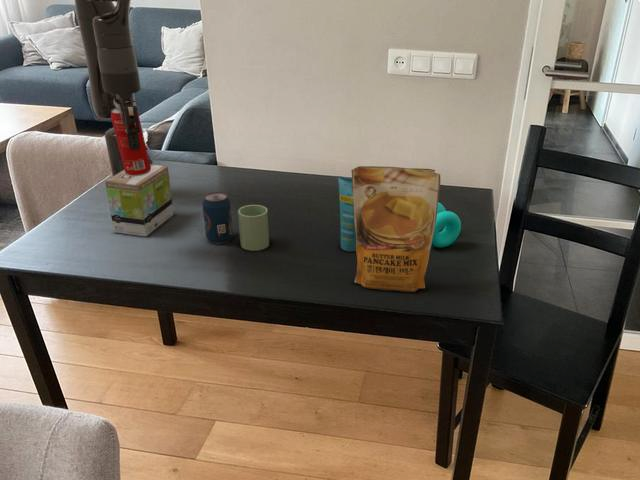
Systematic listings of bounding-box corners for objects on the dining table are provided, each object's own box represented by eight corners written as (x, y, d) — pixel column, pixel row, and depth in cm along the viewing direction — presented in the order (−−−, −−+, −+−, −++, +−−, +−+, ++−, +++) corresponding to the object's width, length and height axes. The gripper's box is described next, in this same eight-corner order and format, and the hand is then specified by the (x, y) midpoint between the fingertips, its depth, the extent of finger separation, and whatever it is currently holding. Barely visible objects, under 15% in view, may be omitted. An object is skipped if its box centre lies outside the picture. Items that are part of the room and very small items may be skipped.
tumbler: (236, 241, 153) (233, 207, 148) (263, 235, 156) (260, 202, 151) (246, 253, 147) (244, 218, 143) (273, 247, 151) (272, 213, 146)
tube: (333, 249, 151) (334, 178, 141) (340, 241, 155) (340, 172, 145) (361, 254, 149) (363, 183, 139) (366, 245, 153) (369, 176, 143)
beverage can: (156, 171, 137) (146, 107, 129) (133, 179, 132) (121, 113, 125) (139, 166, 140) (129, 102, 132) (116, 174, 135) (103, 108, 127)
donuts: (428, 252, 151) (431, 217, 145) (409, 236, 158) (411, 202, 153) (460, 245, 154) (465, 211, 149) (440, 230, 162) (444, 196, 157)
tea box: (148, 237, 153) (139, 184, 146) (113, 233, 155) (102, 180, 147) (175, 214, 166) (168, 164, 158) (142, 210, 167) (134, 161, 160)
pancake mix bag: (350, 273, 140) (353, 161, 126) (430, 279, 139) (442, 166, 125) (347, 287, 134) (349, 171, 120) (430, 294, 133) (442, 178, 119)
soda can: (204, 235, 155) (199, 193, 149) (230, 231, 158) (226, 189, 152) (209, 246, 150) (204, 203, 144) (236, 242, 152) (232, 199, 146)
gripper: (144, 73, 120) (156, 153, 129) (130, 61, 131) (142, 135, 140) (105, 76, 117) (120, 157, 126) (94, 63, 128) (109, 138, 136)
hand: (132, 145), depth 133 cm, fingers closed on beverage can, 5 cm apart
